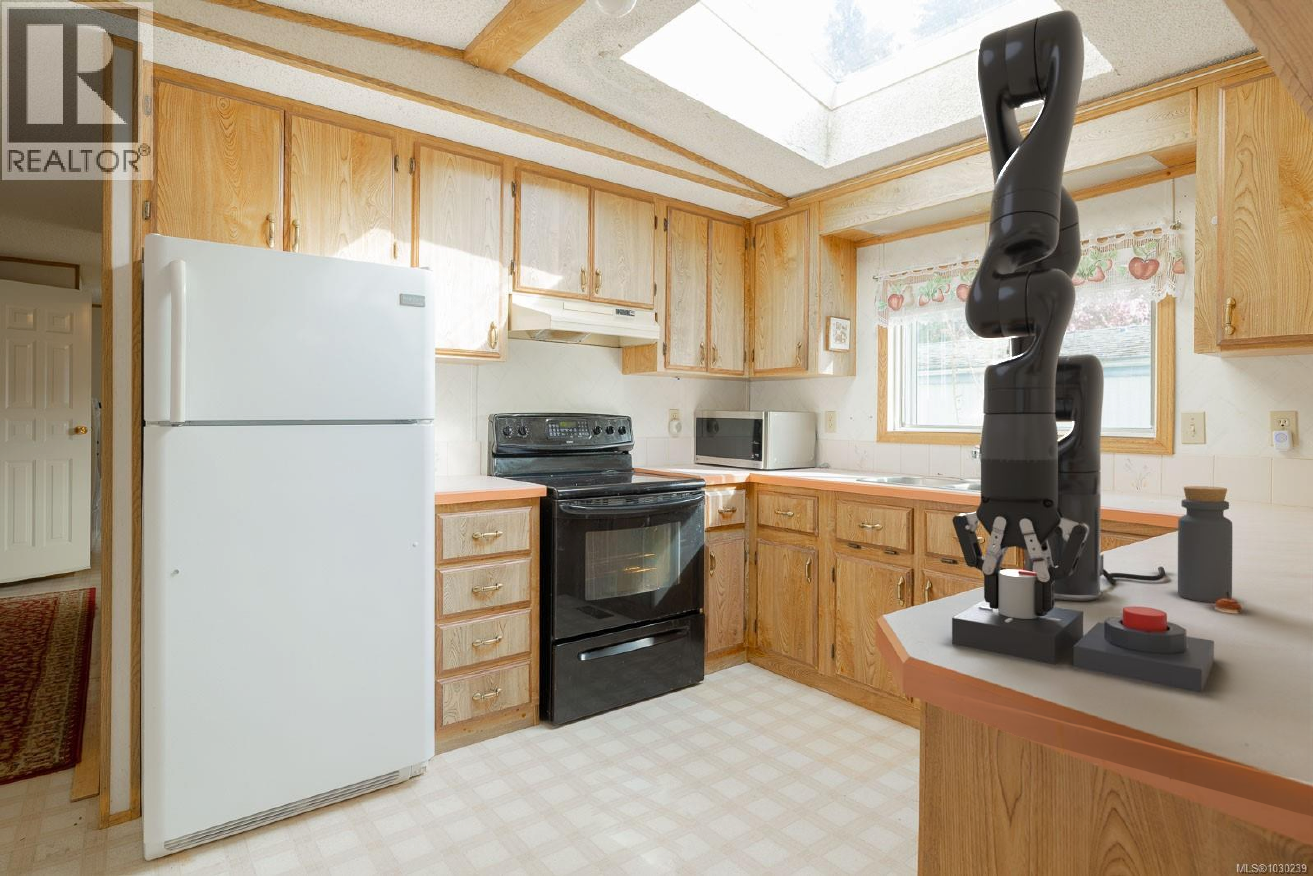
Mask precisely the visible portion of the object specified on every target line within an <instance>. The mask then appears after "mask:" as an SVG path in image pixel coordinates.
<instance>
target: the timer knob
mask: <svg viewBox="0 0 1313 876" xmlns="http://www.w3.org/2000/svg"><path fill="white" fill-rule="evenodd" d="M1036 581H1038V578H1037V574H1036V572H1031V571H1025V570H1024V569H1000V571H999V572H998V612H999V613H1000V614H1002V615H1004V616H1008V617H1012V618H1020V619H1033V618H1038V617H1039V616H1037V615H1036Z"/></svg>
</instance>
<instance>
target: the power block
mask: <svg viewBox="0 0 1313 876" xmlns="http://www.w3.org/2000/svg"><path fill="white" fill-rule="evenodd" d="M1072 649H1073V653H1072V656H1073V659H1072V661H1073V666H1072V667H1073V668H1076V669H1081V670H1088V671H1092V672H1097V673H1102V674H1107V675H1110V676H1111V675H1112V676H1116V677H1121V678H1125V679H1131V680H1137V681H1141V682H1146V683H1152V684H1156V685H1161V686H1165V687H1169V688H1171V687H1172V688H1175V689H1176V688H1177V689H1180V690H1186V691H1189V692H1190V691H1192V692H1196V693H1202V692H1203V691H1204V687H1205V685H1206V683H1207V680H1208V678H1209V674H1210V672H1211V670H1212V667H1213V665H1214V662H1215V641H1214V640H1213V639H1207V638H1199V637H1194V636H1187V629H1186V628H1184V627H1182V626H1181V625H1179V624H1178V623H1177V624H1176V623H1174V622H1170V621H1167V631H1145V630H1139V629H1133V628H1130V627H1126V626H1123V615H1118V616H1110V617H1107V618H1106V619H1105V620H1104V622H1098V621H1097V623H1096V624H1095V625H1094V626H1093V627H1092V628H1091V629H1089V630H1088V632H1086V633H1085V634H1084V635H1083V637H1082V638H1081V639H1080V640H1079V641H1078V642H1077V643H1076V644H1075V645H1074V646H1073V648H1072Z"/></svg>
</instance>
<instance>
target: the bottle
mask: <svg viewBox="0 0 1313 876" xmlns="http://www.w3.org/2000/svg"><path fill="white" fill-rule="evenodd" d="M1183 492H1184V496H1185V499H1181V507H1182V508H1185V509H1186V514H1184V515H1182V516H1180V517H1179V518H1178V519H1177V595H1178V596H1179V597H1182V598H1184V599H1188V600H1193V601H1197V602H1204V603H1216V602H1217V601H1218V600H1220V599H1226V598H1227V593H1226V589H1228V591H1229V592H1228V593H1229V596H1230V599H1232V598H1233V522H1232V520H1231V519H1229V518H1228V517H1226V516H1225V515H1224V511H1227V510H1229V509H1230V502H1229V501H1226V500H1225V499H1226V496H1227V492H1228V488H1226V487H1222V486H1221V487H1220V486H1207V485H1205V486H1204V485H1191V486H1190V485H1188V486H1183ZM1232 600H1233V599H1232Z"/></svg>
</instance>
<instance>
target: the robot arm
mask: <svg viewBox="0 0 1313 876" xmlns="http://www.w3.org/2000/svg"><path fill="white" fill-rule="evenodd" d="M1083 34H1084V33H1083V30H1082V26H1081V22H1080V20H1079V18H1078V16H1077V14H1076V13H1074V12H1073V11H1072V10H1068V9H1064V10H1063V9H1062V10H1058V11H1054V12H1050V13H1047V14H1044V15H1040V16H1039V17H1035V18H1032V19H1029V20H1026V21H1023V22H1020V23H1016V24H1014V25H1011V26H1009V27H1005V28H1002V29H1000V30H999V29H998V30H996V31H993V32H991V33H989V34H987V35H985V36H984V37H983V38H981V40H980V42H979V44H978V46H977V51H976V60H975V62H976V63H975V66H976V68H975V69H976V82H977V88H978V94H979V101H980V106H981V112H982V117H983V122H984V128H985V134H986V139H987V145H988V151H989V155H990V162H991V169H992V176H993V186H994V187H993V190H992V195H991V201H990V214H989V224H988V225H989V226H988V237H987V243H986V246H985V249H984V252H983V255H982V258H981V261H980V263H979V266H978V268H977V270H976V273H975V275H974V277H973V280H972V282H971V284H970V287H969V289H968V292H967V296H966V301H965V306H964V317H965V321H966V324H967V326H968V328H969V330H970V331H971V332H972V333H973V334H974V335H975V336H976V337H978V338H980V339H983V340H998V339H1009V340H1010V341H1009V343H1010V357H1007V358H1003V359H999V360H996V361H993V362H991V363H989V364H988V365H987V366H986V367H985V369H984V372H983V383H982V387H983V391H982V393H983V395H982V396H983V397H982V399H983V400H982V401H983V402H982V405H983V406H982V414H983V415H982V425H981V432H980V444H979V454H980V503H979V505H978V507H977V508H976V511H974V512H970V513H960V514H957V515H955V516H953V517H952V525H953V527H954V531H955V534H956V536H957V540H958V543H959V546H960V549H961V552H962V555H963V559H964V561H965V565H966V566H967V567H969V568H975V569H977V570H979V571H981V573H982V574H983V598H984V600H985V601H986V602H988V603H989V605H990V608H993V609H998V572H999V571H1001V567H1002V564H1003V560H1004V557H1005V555H1006V553H1007V552H1008V548H1015V547H1016V548H1019V549H1021V550H1024V561H1023V563H1024V564H1023V565H1024V566H1023V567H1024V569H1023V570H1025V571H1031V572H1036V574H1037V578H1038V581H1036V615H1037V616H1043V617H1044V616H1045V615H1047V613H1048V612H1049V611H1051V610H1052V609H1053V607H1055V600H1063V601H1094V600H1097V599H1100V598H1101V597H1102V590H1101V577H1102V576H1103V577H1104V578H1105V579H1106V580H1107V581H1108V582H1109V583H1111V584H1115V583H1116V579H1127V580H1128V579H1129V580H1138V581H1146V582H1148V581H1149V582H1150V581H1151V582H1154V581H1161V580H1162V579H1163V578H1164V577H1165V576H1166V570H1165V568H1164V566H1158V567H1157V571H1158V574H1156V575H1143V574H1135V573H1134V574H1133V573H1125V572H1108V571H1107V570H1106V569H1105V568H1104V554H1102V552H1101V550H1102V549H1101V547H1102V546H1101V541H1102V540H1101V535H1102V533H1101V532H1102V531H1101V528H1102V527H1101V525H1102V524H1101V519H1102V518H1101V517H1102V516H1101V515H1102V513H1101V512H1102V511H1101V510H1102V506H1101V505H1102V494H1101V492H1102V489H1101V488H1102V486H1101V484H1102V483H1101V482H1102V481H1101V477H1102V473H1101V471H1102V467H1101V466H1102V463H1101V462H1102V461H1101V459H1102V457H1101V456H1102V455H1101V454H1102V450H1101V449H1102V448H1101V447H1102V417H1103V416H1102V415H1103V403H1104V390H1105V389H1104V386H1105V379H1104V368H1103V365H1102V363H1101V361H1100V359H1099V358H1098V357H1097V356H1096V355H1094V354H1068V355H1060V354H1061V350H1062V345H1063V343H1064V340H1065V336H1066V333H1067V330H1068V327H1069V324H1070V322H1071V319H1072V315H1073V312H1074V308H1075V305H1076V295H1077V294H1076V289H1075V288H1076V287H1075V285H1074V282H1073V278H1074V276H1075V274H1076V272H1077V270H1078V268H1079V266H1080V263H1081V259H1082V245H1081V232H1080V231H1081V229H1080V216H1079V209H1078V205H1077V203H1076V201H1075V200H1074V197H1072V195H1071V194H1070V193H1069V191H1068V190H1067V189H1066V188H1065V187H1064V186H1063V176H1064V169H1065V164H1066V158H1067V154H1068V149H1069V145H1070V141H1071V137H1072V133H1073V128H1074V125H1075V118H1076V112H1077V108H1078V104H1079V98H1080V92H1081V88H1082V83H1083V76H1084V68H1085V43H1084V35H1083ZM1041 103H1043V105H1042V108H1041V110H1040V112H1039V115H1038V117H1037V118H1036V120H1035V121H1034V123H1033V125H1032V126H1031V128H1030V129H1029V131H1028V132H1027V134H1026V135H1025V137H1024V136H1023V134H1022V132H1021V130H1020V127H1019V124H1018V121H1017V117H1016V116H1017V115H1016V111H1015V110H1017V109H1023V108H1026V107H1030V106H1033V105H1037V104H1041ZM1070 422H1071V423H1072V426H1071V429H1070V431H1069V432H1068V433H1067V434H1065V435H1064V436H1062V437H1060V438H1059V433H1058V426H1057V423H1070ZM979 522H980V524H981V525H982V527H983V528H984V529H985V531H986V532H987V534H988V536H989V539H988V540H989V541H988V543H987V545H986V549H985V553H986V554H985V556H984V554H983V551H982V548H981V546H980V542H979V540H978V537H977V534H976V531H977V530H978V528H979V525H978V523H979Z"/></svg>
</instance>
